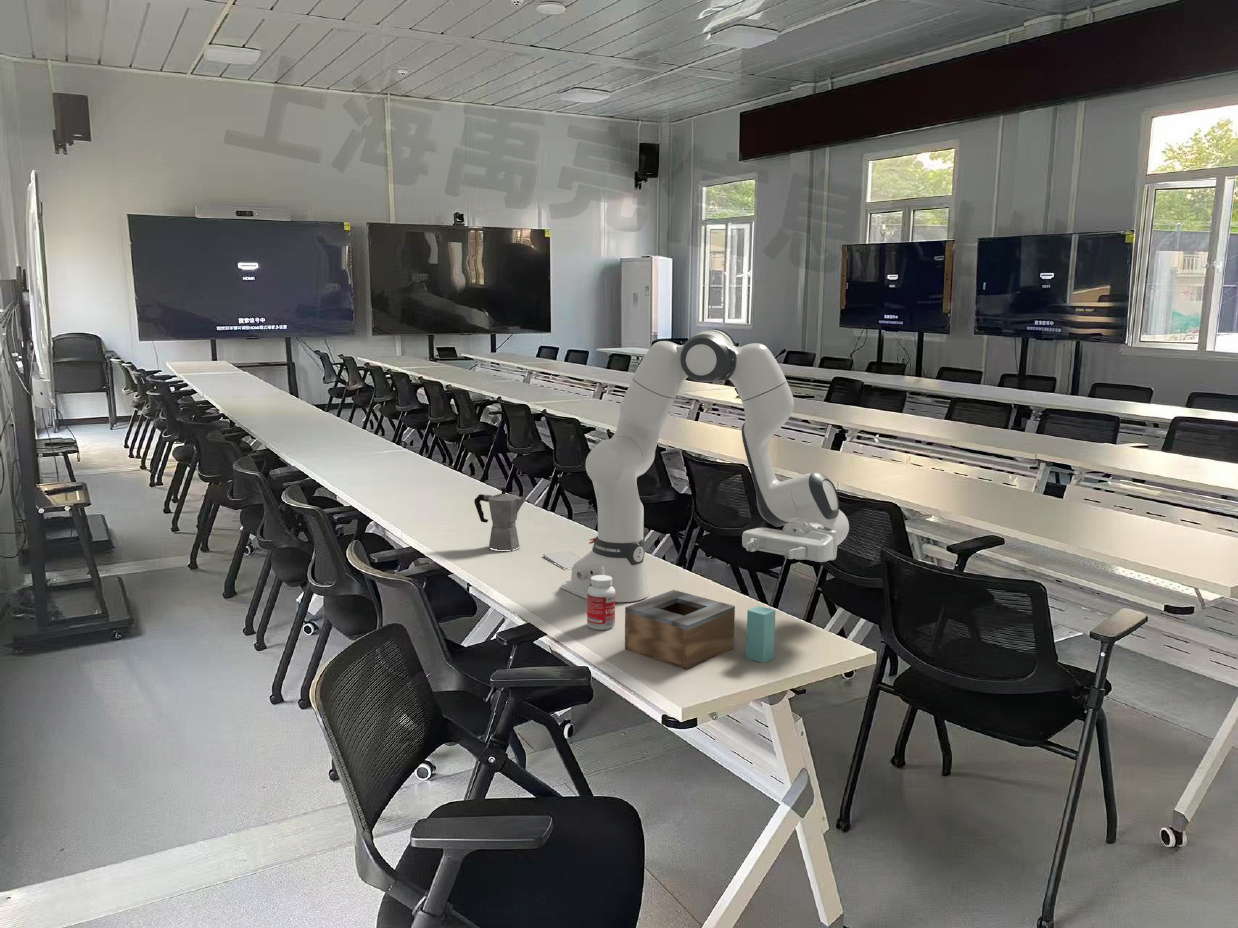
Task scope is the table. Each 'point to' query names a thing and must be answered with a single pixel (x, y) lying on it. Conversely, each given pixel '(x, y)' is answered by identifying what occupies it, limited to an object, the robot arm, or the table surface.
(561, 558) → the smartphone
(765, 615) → the block
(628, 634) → the drop box
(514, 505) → the coffeepot
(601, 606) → the pill bottle
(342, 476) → the table surface
